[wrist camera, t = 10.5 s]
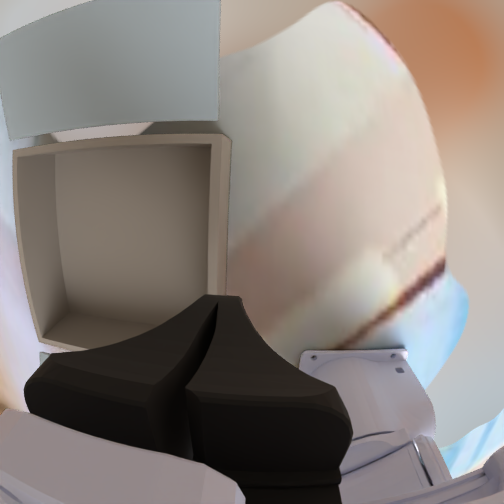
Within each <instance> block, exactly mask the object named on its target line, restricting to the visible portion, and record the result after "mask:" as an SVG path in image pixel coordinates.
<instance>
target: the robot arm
mask: <svg viewBox="0 0 504 504" xmlns="http://www.w3.org/2000/svg"><path fill="white" fill-rule="evenodd" d="M392 354H394V355H393V356H391V355H392ZM314 355H315V356H316V357H314V358H311V357H312V356H314ZM407 357H408V351H407V350H406V349H404V348H403V349H383V350H344V351H318V350H307V351H304V352H303V353H302V354H301V358H300V364H299V369H298V368H296V367H294V366H293V365H291V364H290V363H288V362H287V361H286V360H284V359H283V358H282V357H281V356H279V355H278V354H277V353H276V352H274V351H273V350H272V349H271V348H270V347H269V346H268V344H267V343H266V342H265V341H264V340H263V339H262V337H261V336H260V335H259V333H258V332H257V331H256V329H255V328H254V326H253V325H252V323H251V321H250V319H249V318H248V316H247V314H246V312H245V309H244V307H243V304H242V299H241V298H240V297H239V296H225V295H211V294H204V295H203V296H202V297H200V298H199V299H198V300H196V301H195V302H194V303H192V304H191V305H190V306H188V307H187V308H186V309H184V310H183V311H181V312H180V313H179V314H177V315H175V316H174V317H172V318H171V319H169V320H167V321H166V322H164V323H163V324H161V325H159V326H157V327H155V328H153V329H151V330H149V331H147V332H145V333H143V334H140V335H138V336H135V337H132V338H129V339H127V340H124V341H121V342H118V343H115V344H111V345H107V346H103V347H98V348H94V349H88V350H82V351H73V352H63V353H51V354H50V356H49V357H48V358H47V359H46V360H45V361H44V362H43V363H42V364H41V366H40V367H39V368H38V369H37V370H36V371H35V372H34V374H33V375H32V376H31V377H30V378H29V379H28V381H27V382H26V384H25V387H24V397H25V402H26V404H27V407H28V409H29V411H30V413H28V412H23V411H19V410H14V409H8V408H6V409H5V410H4V411H3V413H2V414H1V415H0V504H504V446H503V447H502V448H500V449H498V450H497V451H496V452H495V453H493V455H492V456H491V457H490V458H489V459H488V460H487V461H486V463H485V464H484V466H483V467H482V468H480V469H478V470H475V471H473V472H470V473H468V474H465V475H463V476H460V477H457V478H455V479H452V477H451V475H450V472H449V470H448V468H447V466H446V464H445V461H444V459H443V457H442V455H441V453H440V451H439V449H438V447H437V445H436V444H435V442H434V440H433V438H434V435H435V429H436V420H435V412H434V408H433V405H432V403H431V401H430V399H429V397H428V395H427V394H426V392H425V390H424V389H423V387H422V385H421V384H420V382H419V381H418V379H417V377H416V376H415V374H414V372H413V371H412V369H411V368H410V366H409V364H408V363H407V361H406V359H407ZM422 461H423V462H422Z"/></svg>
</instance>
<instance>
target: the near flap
mask: <svg viewBox="0 0 504 504" xmlns="http://www.w3.org/2000/svg"><path fill="white" fill-rule="evenodd" d="M220 11H221V0H93V1H89V2H86V3H83V4H80V5H77V6H74V7H71V8H68V9H65V10H62V11H60V12H57V13H54V14H51V15H49V16H46V17H44V18H41V19H39V20H37V21H35V22H32V23H30V24H28V25H25V26H23V27H21V28H19V29H17V30H15V31H13V32H11V33H9V34H7V35H5V36H3V37H1V38H0V92H1V99H2V105H3V110H4V115H5V120H6V125H7V130H8V134H9V139H10V141H12V140H17V139H21V138H26V137H31V136H36V135H42V134H47V133H53V132H59V131H66V130H72V129H79V128H88V127H96V126H105V125H115V124H127V123H141V122H160V121H218V119H219V52H220V49H219V48H220V47H219V46H220V13H221V12H220Z"/></svg>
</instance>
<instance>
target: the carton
mask: <svg viewBox="0 0 504 504" xmlns="http://www.w3.org/2000/svg"><path fill="white" fill-rule="evenodd" d="M231 149H232V140H230V139H229V138H228V137H226V136H225V135H223V134H151V135H133V136H117V137H105V138H94V139H85V140H77V141H68V142H60V143H53V144H46V145H40V146H34V147H28V148H22V149H17V150H13V199H14V214H15V225H16V234H17V242H18V250H19V256H20V263H21V269H22V274H23V279H24V285H25V289H26V294H27V299H28V303H29V307H30V311H31V315H32V319H33V323H34V326H35V330H36V334H37V337H38V340H39V342H41V343H44V344H48V345H52V346H55V347H59V348H63V349H67V350H71V351H82V350H88V349H94V348H98V347H103V346H107V345H111V344H115V343H118V342H121V341H124V340H127V339H129V338H132V337H135V336H138V335H140V334H143V333H145V332H147V331H149V330H151V329H153V328H155V327H157V326H159V325H161V324H163V323H164V322H166V321H167V320H169V319H171V318H172V317H174V316H175V315H177V314H179V313H180V312H181V311H183V310H184V309H186V308H187V307H188V306H190V305H191V304H192V303H194V302H195V301H196V300H198V299H199V298H200V297H202V296H203V295H204V294H211V295H225V296H226V269H227V239H228V212H229V189H230V168H231Z"/></svg>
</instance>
